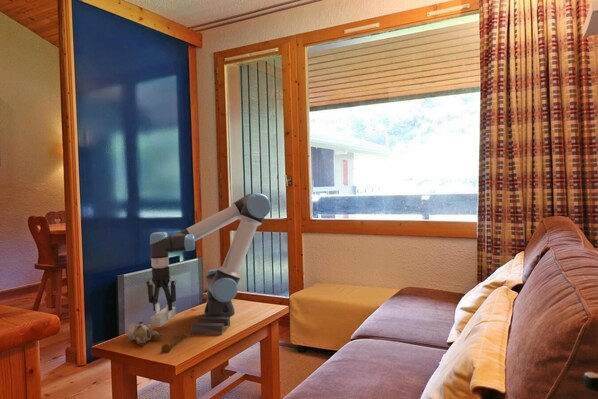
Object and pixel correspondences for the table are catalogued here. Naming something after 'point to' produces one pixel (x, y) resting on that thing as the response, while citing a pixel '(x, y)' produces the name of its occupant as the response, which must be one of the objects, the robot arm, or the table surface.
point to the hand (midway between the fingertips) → (163, 317)
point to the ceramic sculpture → (141, 333)
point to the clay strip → (161, 317)
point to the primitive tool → (172, 343)
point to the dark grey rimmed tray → (211, 325)
